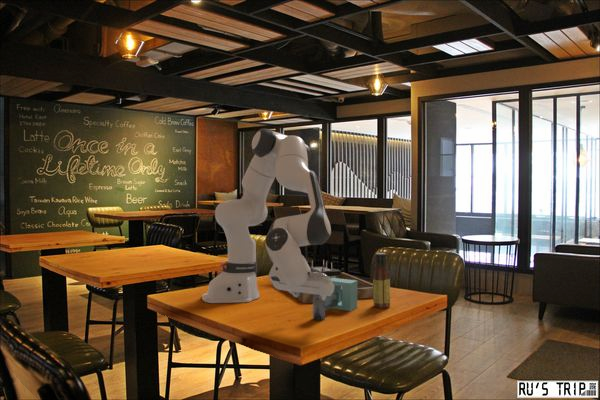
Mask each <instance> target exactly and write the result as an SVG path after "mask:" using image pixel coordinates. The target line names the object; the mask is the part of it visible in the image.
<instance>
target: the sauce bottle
mask: <svg viewBox="0 0 600 400" xmlns="http://www.w3.org/2000/svg"><path fill="white" fill-rule="evenodd" d="M374 257H375V266H374V269H373V271H372V284H373V298H372V299H373V306H375V308H381V309H386V308H389V307H390V306H391V279H390V269H389V268H388V266H387V253H386V252H375V254H374Z"/></svg>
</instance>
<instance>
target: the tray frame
mask: <svg viewBox="0 0 600 400" xmlns="http://www.w3.org/2000/svg"><path fill="white" fill-rule="evenodd" d="M336 278H339V279H347V280H356V281H358V283H357V300H360V299H362V300H363V299H373V282H372V283H371V282H370V281H367V280H364V279H361V278H359V277H357V276H354V275H351V274H349V273H346V272H342V271H341V275H340V276H336ZM283 291H284V292H285V293H288V294H289V295H290V296H292V297H294V296H293V294H291V293H290V292H288V291H286V290H283ZM294 298H295V299H297V300H298V301H300V302H302V303H304V304H309V303H310V304H311V303H312V304H313V294H309V293H301V292H300V295H299V297H294ZM341 301H342V288H341ZM325 302H326V299H325Z"/></svg>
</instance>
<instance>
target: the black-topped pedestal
mask: <svg viewBox="0 0 600 400" xmlns="http://www.w3.org/2000/svg"><path fill="white" fill-rule="evenodd" d="M309 267H310V269H311V272H318V273H324V274H326V275H327V276H328V277H329V278H330V279H331V278H336V276H340V275H341V272H342V270H340V269H336V268H333V262H329V261H328V260H326V261H325V259H323V260H321V259H320V260H311V266H309Z"/></svg>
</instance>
